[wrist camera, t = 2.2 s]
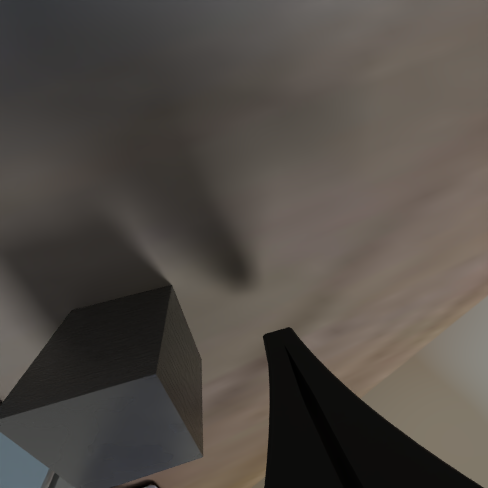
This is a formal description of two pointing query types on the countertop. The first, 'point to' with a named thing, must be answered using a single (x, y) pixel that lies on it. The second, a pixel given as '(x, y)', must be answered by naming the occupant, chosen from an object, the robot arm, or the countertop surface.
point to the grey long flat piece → (55, 481)
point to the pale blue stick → (19, 466)
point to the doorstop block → (112, 393)
